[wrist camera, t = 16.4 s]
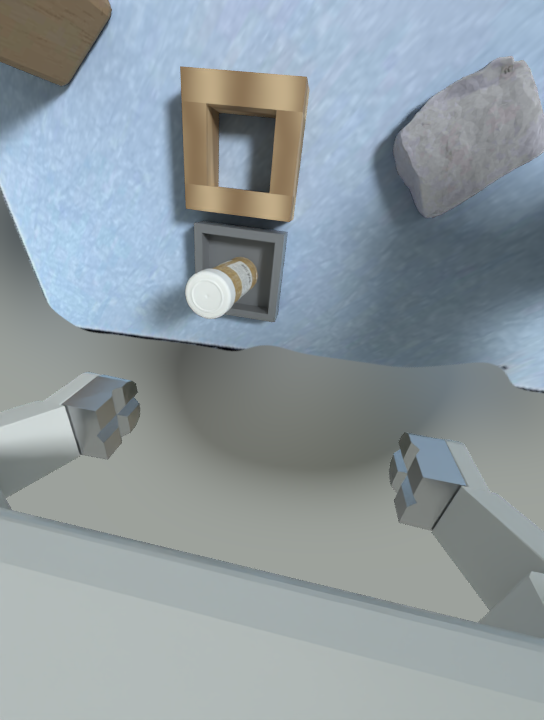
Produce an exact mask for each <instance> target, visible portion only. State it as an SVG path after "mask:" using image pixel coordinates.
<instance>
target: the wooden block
mask: <svg viewBox="0 0 544 720" xmlns="http://www.w3.org/2000/svg"><path fill="white" fill-rule="evenodd" d="M111 11H112V9H111V6H110V4H109V1H108V0H0V62H2V63H5V64H7V65H10V66H12V67H15V68H17V69H20V70H22V71H25V72H27V73H30V74H32V75H35V76H37V77H40V78H42V79H45V80H47V81H50V82H52V83H55V84H57V85H60V86H64V85H66V84H68V83H69V82H70V80H71V79H72V77H73V76H74V74H75V72H76V71H77V69H78V68H79V66H80V64H81V63H82V61H83V60H84V58H85V56H86V55H87V53H88V52H89V50H90V48H91V47H92V45H93V44H94V42H95V40H96V39H97V37H98V36H99V34H100V32H101V31H102V29H103V28H104V26H105V24H106V23H107V21H108V20H109V18H110V16H111Z"/></svg>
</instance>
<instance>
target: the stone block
mask: <svg viewBox="0 0 544 720" xmlns="http://www.w3.org/2000/svg"><path fill="white" fill-rule="evenodd" d="M543 152H544V114H543V110H542V106H541V102H540V99H539V95H538V89H537V87H536V84H535V81H534V79H533V76H532V73H531V70H530V68H529V67H528V65H527V63H526V62H525V61H524V60H521V61H514V58H513V57H512V56H508V57H499V58H497V59H495V60H493V61H492V62H490V63H489V64H488V65H486V66H485V67H484V68H483V69H481V70H479V71H477V72H475V73H473V74H471V75H468V76H466V77H463V78H462V79H460V80H458V81H456V82H454V83H453V84H451V85H449V86H448V87H446V88H445V89H444V90H442V91H440V92H438V93H437V94H435V95H434V96H433V97H431V98H430V99H429V100H428V101H427V102H426V104H425V105H424V106H423V107H422V108H421V109H420V110H419V112H417V113H416V114H415V116H414V117H413V119H412V120H411V121H410V122H409V123H408V124H407V125H406V126H405V127H404V128H402V129H401V131H399V133H398V134H397V136H396V139H395V143H394V148H393V155H394V158H395V162H396V169H397V172H398V175H400V177H401V178H402V180H403V181H404V184H405V185H406V186H407V187H409V189H410V192H411V194H412V197H413V200H414V202H415V205H416V207H417V209H418V211H419V213H421V214H422V215H423V216H424V217H425V218H430V217H432V218H434V217H436V216H439V215H442V214H443V213H445V212H447V211H448V210H450V209H452V208H454V207H456V206H458V205H459V204H461V203H462V202H464V201H465V200H467V199H469V198H470V197H472V196H474V195H475V194H477V193H478V192H480V191H481V190H483V189H484V188H486V187H487V186H488V185H490V184H491V183H493V182H494V181H496V180H497V179H499V178H501V177H502V176H504V175H505V174H507V173H509V172H511V171H512V170H514V169H516V168H518V167H519V166H522V165H524V164H526V163H527V162H529V161H531V160H533V159H534V158H536V157H538V156H539V155H541V154H542V153H543Z"/></svg>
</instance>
